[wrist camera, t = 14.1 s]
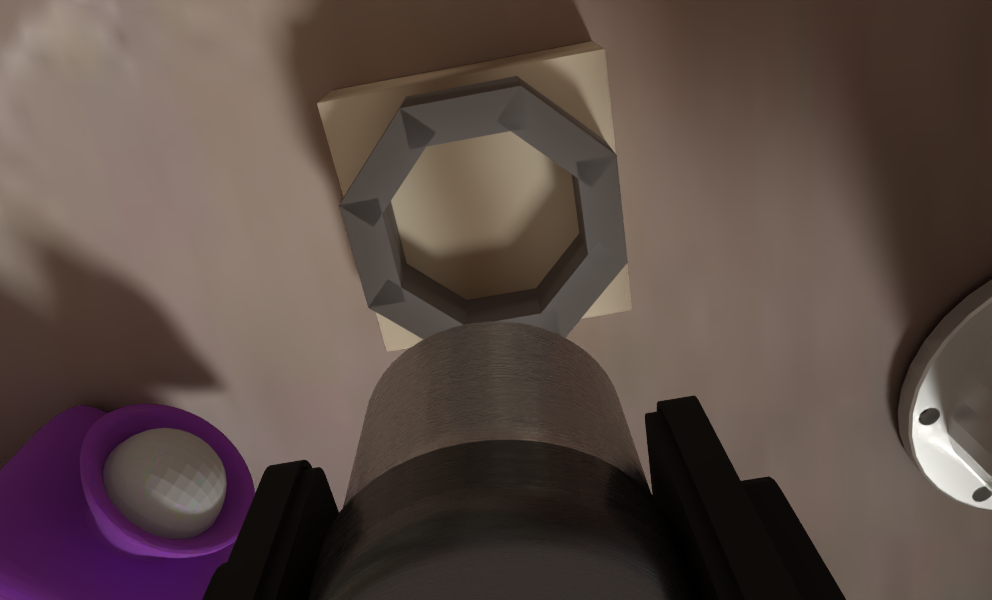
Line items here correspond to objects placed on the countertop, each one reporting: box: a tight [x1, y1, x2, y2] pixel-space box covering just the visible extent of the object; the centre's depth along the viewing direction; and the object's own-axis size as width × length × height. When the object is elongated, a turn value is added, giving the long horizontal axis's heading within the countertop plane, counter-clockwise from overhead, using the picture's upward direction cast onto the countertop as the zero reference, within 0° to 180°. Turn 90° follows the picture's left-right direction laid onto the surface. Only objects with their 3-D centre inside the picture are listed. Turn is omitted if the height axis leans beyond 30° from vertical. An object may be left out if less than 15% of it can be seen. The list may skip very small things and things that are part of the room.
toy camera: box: [0, 404, 255, 600], centre depth 26 cm, size 11×14×10 cm
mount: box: [317, 41, 632, 352], centre depth 23 cm, size 9×9×4 cm
